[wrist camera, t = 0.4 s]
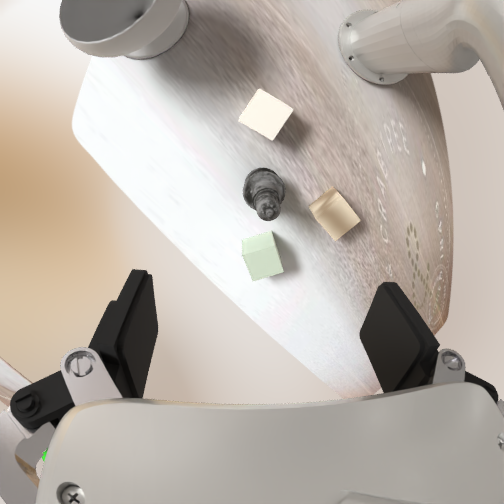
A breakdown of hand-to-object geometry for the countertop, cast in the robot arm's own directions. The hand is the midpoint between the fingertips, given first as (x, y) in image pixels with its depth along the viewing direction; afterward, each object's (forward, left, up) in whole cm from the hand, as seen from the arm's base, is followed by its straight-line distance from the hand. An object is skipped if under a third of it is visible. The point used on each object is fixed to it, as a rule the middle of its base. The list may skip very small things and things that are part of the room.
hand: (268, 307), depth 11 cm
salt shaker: (+1, +5, -33) cm, 34 cm away
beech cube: (-6, +14, -33) cm, 37 cm away
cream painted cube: (-5, -4, -33) cm, 34 cm away
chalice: (0, -26, -33) cm, 42 cm away
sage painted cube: (+7, +14, -33) cm, 37 cm away
